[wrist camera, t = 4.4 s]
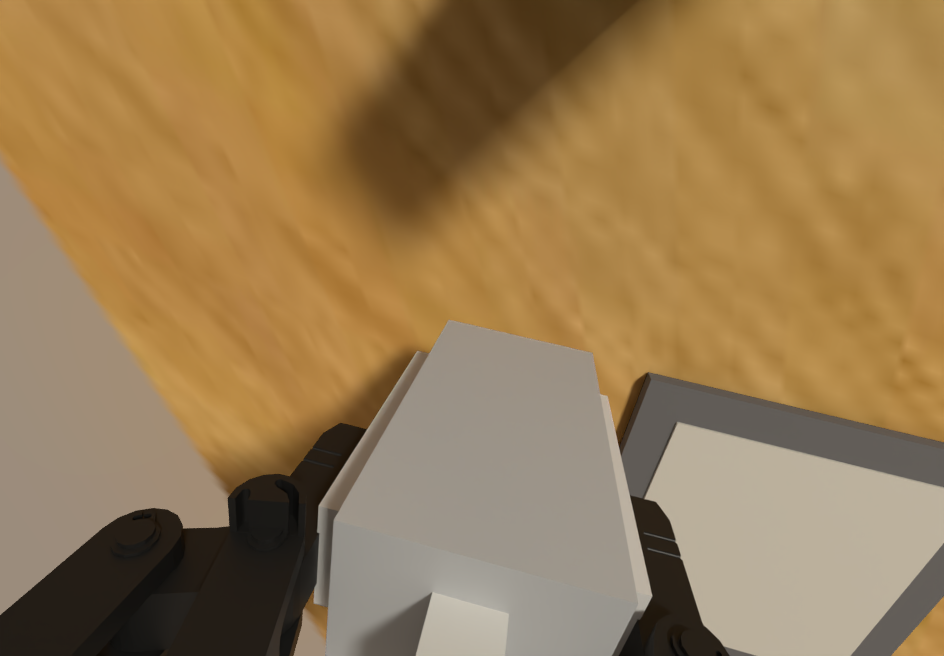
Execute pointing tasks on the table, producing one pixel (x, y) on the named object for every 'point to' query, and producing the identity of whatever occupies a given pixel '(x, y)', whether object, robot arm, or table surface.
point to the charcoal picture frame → (791, 519)
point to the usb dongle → (486, 512)
